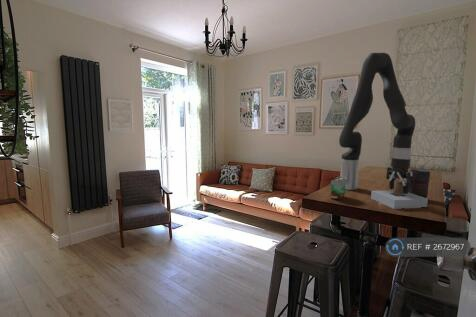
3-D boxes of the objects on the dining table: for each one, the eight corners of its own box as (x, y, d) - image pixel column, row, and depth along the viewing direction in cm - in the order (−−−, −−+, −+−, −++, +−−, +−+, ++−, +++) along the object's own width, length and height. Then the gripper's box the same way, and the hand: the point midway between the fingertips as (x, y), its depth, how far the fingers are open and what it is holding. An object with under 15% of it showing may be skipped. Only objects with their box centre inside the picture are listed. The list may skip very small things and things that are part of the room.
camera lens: (419, 202, 118) (421, 171, 116) (403, 197, 126) (406, 168, 124) (431, 200, 120) (434, 170, 118) (415, 196, 128) (418, 168, 126)
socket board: (371, 198, 125) (371, 190, 124) (400, 197, 127) (400, 189, 126) (393, 208, 109) (394, 200, 109) (427, 207, 111) (427, 198, 110)
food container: (342, 201, 120) (343, 181, 118) (330, 199, 123) (330, 180, 122) (349, 196, 129) (350, 177, 128) (337, 194, 133) (337, 176, 132)
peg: (390, 201, 120) (392, 181, 118) (397, 201, 120) (399, 181, 119) (396, 204, 116) (398, 183, 115) (403, 203, 116) (405, 183, 115)
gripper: (383, 155, 122) (380, 187, 124) (405, 159, 108) (402, 195, 110) (397, 155, 122) (394, 187, 125) (421, 159, 108) (417, 195, 110)
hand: (398, 191), depth 117 cm, fingers open, 8 cm apart
